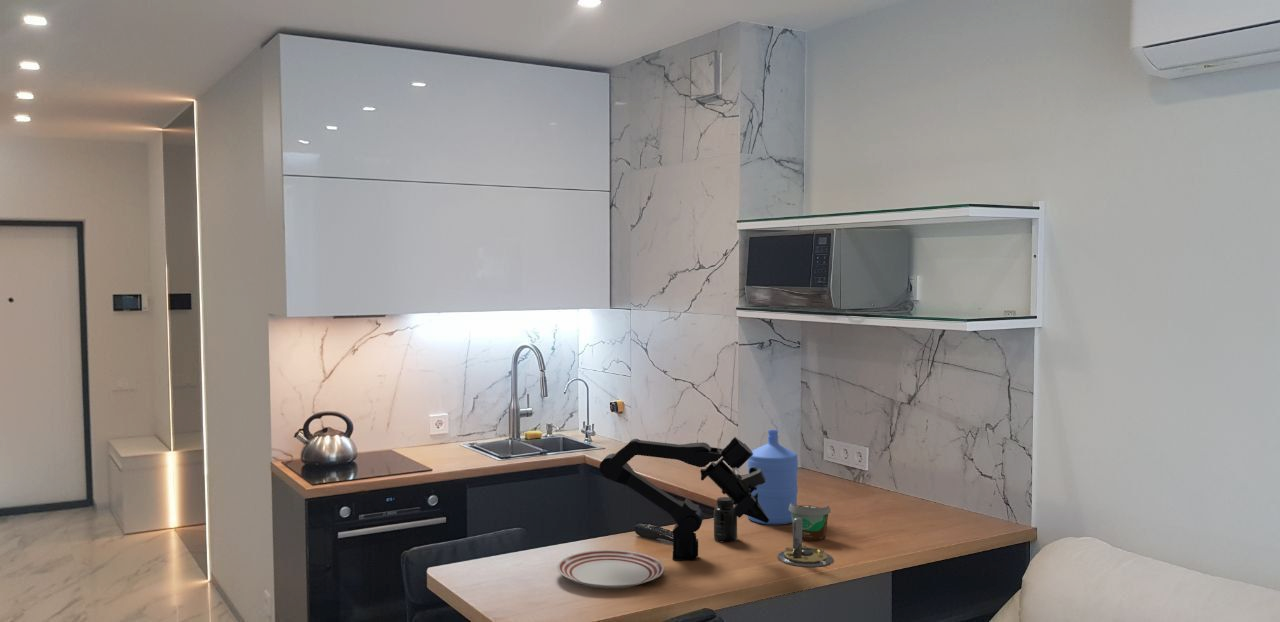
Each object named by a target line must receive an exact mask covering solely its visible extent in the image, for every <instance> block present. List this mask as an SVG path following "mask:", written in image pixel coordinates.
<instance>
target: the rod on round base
mask: <svg viewBox="0 0 1280 622" xmlns="http://www.w3.org/2000/svg"><path fill="white" fill-rule="evenodd" d="M802 548H809V549H812V550H813V554H812V555H802ZM783 551H784V558H786V559H787V560H790V561H793V562H798V563H819V561H821V560H822V561H825V560H826V559H827V554H828V553H827V552H826V551H825V549H823V548H814V547H807V545H805V544H804V545H803V541H802V518H793V528H792V547H785V550H783Z"/></svg>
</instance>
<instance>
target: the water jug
mask: <svg viewBox="0 0 1280 622" xmlns="http://www.w3.org/2000/svg"><path fill="white" fill-rule="evenodd" d="M767 433H768V435H767V443H766V444H763V445H761V446H759V447H757V448H755V449H753V450H751V451H752V453H753V455H752V456H751V457H750V458H749V459H748V460H747V467H748V468H747V469H748V471H747V474H749V468H752V467H755V468H757V469H761V470H762V472H763V475H764V477H765V479H766V480H765V481H766V482H765V483H763V484H761V485H760V484H759V485H757V490H754V491H753V492H752V493H751V494H752V495H753V496H755V495H756V494H757V493H758V502H759V504H760V506H761V507H762V509H763V510H764V512H765V514H766V515H767V517H768V518H769V521H768V522H767V523H765V522H763V521H760V520H758V519H755V518H753V517H750V516H747V518H748V519H749V520H750V521H752V522H753V523H756V524H761V525H770V526H771V525H773V526H781V525H788V524H792V516H791V512H790V511H789V505H790V504H792V505H798V503H797V502H798V490H799V489H798V487H799V486H798V467H799V459H798V454H797V453H796V452H795V451H793V450H791V449H788V448H787V447H785V446H783V445H781V444H779V436H778V433H779V430H773V429H772V430H771V429H770V430H767Z"/></svg>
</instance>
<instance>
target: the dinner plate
mask: <svg viewBox="0 0 1280 622" xmlns="http://www.w3.org/2000/svg"><path fill="white" fill-rule="evenodd" d="M556 568H557V571H558V573H559V574H560V575H562V576H563V577H565V578H566V579H568V580H569V581H572V582H574V583H577V584H581V585H584V586H587V587H589V588H595V589H609V590H612V589H613V590H614V589H615V590H616V589H624V588H625V589H626V588H630V587H631V588H632V587H634V586H638V585H642V584H645V583H647V582H650V581H654V580H656V579H657V578H659V577H661V576H662V575H663V573H664V572H665V566H664V564H663V563H662V562H661V561H660V560H658V559H657V558H655V557H653V556H650V555H647V554H644V553H640V552H635V551H628V550H619V549H618V550H617V549H597V550H596V549H595V550H587V551H586V550H585V551H581V552H577V553H574V554H570V555H569V556H566V557H564V558H562V559H561V560H560V561H559V562H558V563H557V566H556Z"/></svg>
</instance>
